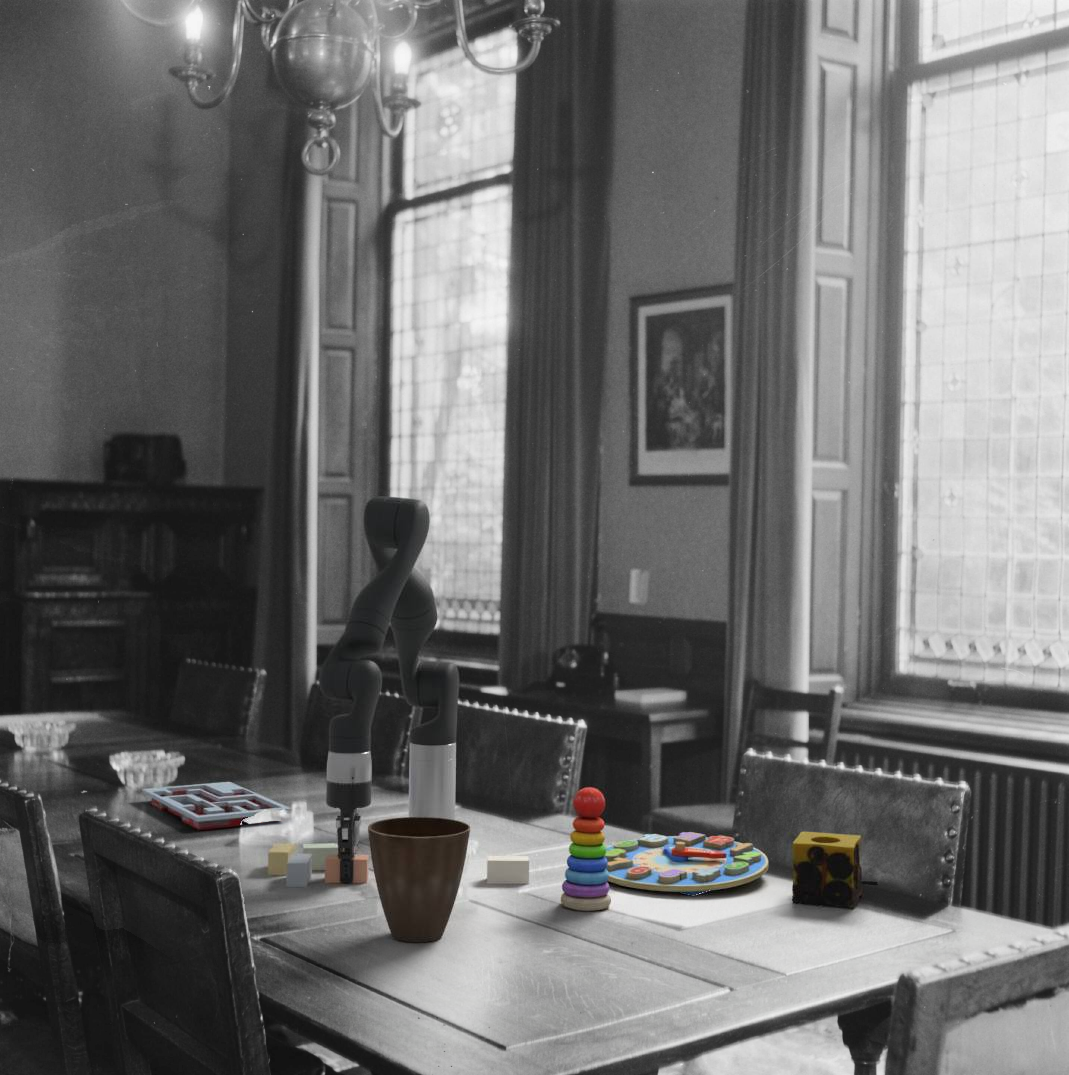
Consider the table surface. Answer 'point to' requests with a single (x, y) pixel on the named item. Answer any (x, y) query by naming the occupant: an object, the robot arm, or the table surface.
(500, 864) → the brick cream
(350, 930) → the table surface
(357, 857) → the brick terracotta
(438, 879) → the plant pot
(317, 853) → the brick sage
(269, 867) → the brick ochre
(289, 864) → the brick slate
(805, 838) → the yellow gear box toy
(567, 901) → the stacking toy
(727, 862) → the shape sorting clock
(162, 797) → the maze game
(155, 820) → the table surface
